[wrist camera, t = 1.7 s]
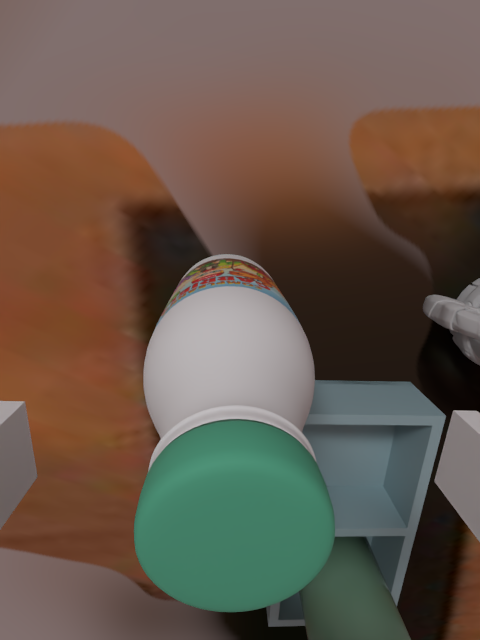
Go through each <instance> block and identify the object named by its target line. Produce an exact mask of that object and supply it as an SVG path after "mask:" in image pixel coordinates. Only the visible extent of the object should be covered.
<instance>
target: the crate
mask: <svg viewBox="0 0 480 640" xmlns="http://www.w3.org/2000/svg"><path fill="white" fill-rule="evenodd" d="M445 418H446V415H445V414H443V413H442V412H441V411H440V410H439V409H438V408H437V407H436V406H435V405H434V404H433V403H432V402H431V401H430V400H429V399H428V398H426V397H425V396H424V395H423V394H422V393H421V392H420V391H419V390H418V389H417V388H416V387H415V386H414V385H413V384H412V383H411V382H384V381H327V380H324V381H323V380H315V386H314V395H313V400H312V405H311V408H310V411H309V415H308V417H307V420H306V422H305V425H304V427H303V430H302V433H303V434H304V436H305V437H306V438H307V440H308V441H309V443H310V445H311V447H312V449H313V451H314V454H315V458H316V463H317V465H318V467H319V469H320V472H321V474H322V476H323V479H324V481H325V483H326V486H327V489H328V492H329V496H330V499H331V502H332V506H333V510H334V517H335V537H346V536H366V537H367V539H368V542H369V544H370V546H371V549H372V551H373V553H374V556H375V558H376V560H377V563H378V565H379V567H380V569H381V572H382V574H383V576H384V579H385V581H386V583H387V586H388V588H389V590H390V593H391V595H392V597H393V600H394V602H395V604H396V607H397V603H398V599H399V595H400V592H401V588H402V584H403V580H404V576H405V572H406V569H407V565H408V561H409V557H410V553H411V549H412V545H413V541H414V538H415V534H416V530H417V526H418V522H419V518H420V514H421V511H422V507H423V503H424V499H425V495H426V491H427V487H428V484H429V480H430V476H431V472H432V468H433V464H434V460H435V457H436V453H437V449H438V445H439V441H440V437H441V433H442V429H443V426H444V422H445ZM266 608H267V617H268V626H269V627H271V626H272V627H273V626H305V621H304V616H303V611H302V606H301V601H300V596H299V592H297V593H296V594H294V595H292V596H291V597H289V598H287V599H285V600H283V601H281V602H278V603H276V604H273V605H270V606H267V607H266Z"/></svg>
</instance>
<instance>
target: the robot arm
mask: <svg viewBox="0 0 480 640" xmlns="http://www.w3.org/2000/svg"><path fill="white" fill-rule="evenodd" d="M36 478H37V471H36V465H35V459H34V453H33V447H32V441H31V435H30V429H29V423H28V417H27V411H26V405H25V402H18V401H0V529H1V528H2V526H3V525H4V524H5V522H6V521H7V519H8V518H9V516H10V515H11V514H12V512H13V511H14V509H15V508H16V507H17V505H18V504H19V502H20V501H21V499H22V498H23V497H24V495H25V494H26V492H27V491H28V489H29V488H30V487H31V485H32V484H33V482H34V481H35V480H36ZM435 483H436V484H437V485H438V487H439V488H440V489H441V491H442V492H443V493H444V495H445V496H446V497H447V499H448V500H449V501H450V503H451V504H452V505H453V507H454V508H455V509H456V511H457V512H458V514H459V515H460V516H461V518H462V519H463V520H464V522H465V523H466V524H467V526H468V527H469V528H470V530H471V531H472V532H473V534H474V535H475V536H476V538H477V539H478V540H479V542H480V413H479V412H478V411H457V410H453V413H452V417H451V421H450V425H449V428H448V432H447V436H446V440H445V443H444V447H443V451H442V455H441V459H440V462H439V466H438V470H437V474H436V477H435Z"/></svg>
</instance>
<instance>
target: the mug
mask: <svg viewBox="0 0 480 640" xmlns="http://www.w3.org/2000/svg"><path fill="white" fill-rule="evenodd" d="M472 284H473V286H472V285H468V286H467V287H466V288H465V289H464V290H463V291H462V293H461V294H460V295H459V297H458V298H457V300H455V299H451V298H448V297H445V296H440V295H431V296H428V297H426V300H425V302H424V305H423V312H424V313H425V315H426V316H427V317H429V318H431V319H432V320H434V321H435V322H436V323H438V324H440V325H441V326H443V327H445V328H447V329H450V333H451V334H452V335H454V336H453V337H452V339H453V341H454V342H455V344H456V345H457V346H458V347H459V348H460V350H461V351H462V353H463V354H464V355H465V356H466V357H467V358H469V359H470V360H471V361H473V362H474V363H476V364H478V365H480V278H479V279H477V280H476V281H474V282H473V283H472Z"/></svg>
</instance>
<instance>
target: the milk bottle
mask: <svg viewBox="0 0 480 640" xmlns="http://www.w3.org/2000/svg"><path fill="white" fill-rule="evenodd" d="M314 386H315V373H314V362H313V357H312V353H311V350H310V346H309V343H308V340H307V337H306V335H305V333H304V331H303V329H302V327H301V325H300V323H299V321H298V319H297V317H296V316H295V314H294V312H293V311H292V309H291V307H290V306H289V304H288V303H287V301H286V300H285V298H284V296H283V295H282V293H281V292H280V290H279V289H278V287H277V286H276V284H275V283H274V281H273V280H272V278H271V277H270V276H269V274H268V273H267V272H266V271H265V270H264V269H263V268H262V267H260V266H259V265H258V264H257V263H255V262H254V261H252V260H250V259H248V258H245V257H242V256H238V255H231V254H222V255H216V256H212V257H208V258H206V259H204V260H202V261H200V262H198V263H197V264H195V265H194V266H193V267H192V268H191V269H190V270H189V271H188V272H187V273H186V274H185V276H184V277H183V278H182V280H181V281H180V283H179V284H178V286H177V288H176V290H175V291H174V293H173V295H172V297H171V298H170V300H169V302H168V304H167V306H166V308H165V310H164V311H163V313H162V315H161V317H160V319H159V321H158V323H157V325H156V328H155V330H154V332H153V335H152V337H151V340H150V342H149V345H148V349H147V353H146V358H145V363H144V393H145V398H146V403H147V407H148V410H149V414H150V416H151V418H152V421H153V423H154V425H155V427H156V429H157V431H158V433H159V435H160V438H161V440H160V442H159V443H158V445H157V446H156V448H155V450H154V452H153V455H152V457H151V461H150V464H149V471H148V474H147V476H146V479H145V482H144V485H143V488H142V491H141V495H140V498H139V502H138V507H137V511H136V516H135V522H134V542H135V550H136V554H137V557H138V560H139V562H140V564H141V566H142V568H143V570H144V571H145V573H146V574H147V576H148V577H149V578H150V579H151V580H152V582H153V583H154V584H156V585H157V586H158V587H159V588H160V589H161V590H163V591H164V592H165V593H167V594H168V595H170V596H171V597H173V598H175V599H177V600H179V601H181V602H183V603H185V604H188V605H190V606H194V607H197V608H201V609H205V610H211V611H218V612H242V611H250V610H255V609H260V608H264V607H267V606H270V605H273V604H276V603H278V602H281V601H283V600H285V599H287V598H289V597H291V596H292V595H294V594H296V593H297V592H299V591H300V590H301V589H303V588H304V587H305V586H306V585H308V584H309V583H310V582H311V581H312V580H313V579H314V578H315V577H316V576H317V575H318V574H319V572H320V571H321V570H322V568H323V567H324V565H325V564H326V562H327V560H328V558H329V556H330V554H331V551H332V548H333V544H334V539H335V517H334V510H333V506H332V502H331V499H330V496H329V492H328V489H327V486H326V483H325V481H324V479H323V476H322V474H321V472H320V469H319V467H318V465H317V463H316V458H315V454H314V451H313V449H312V447H311V445H310V443H309V441H308V440H307V438H306V437H305V436H304V434H303V433H302V430H303V427H304V425H305V422H306V420H307V417H308V415H309V411H310V408H311V405H312V400H313V395H314Z"/></svg>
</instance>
